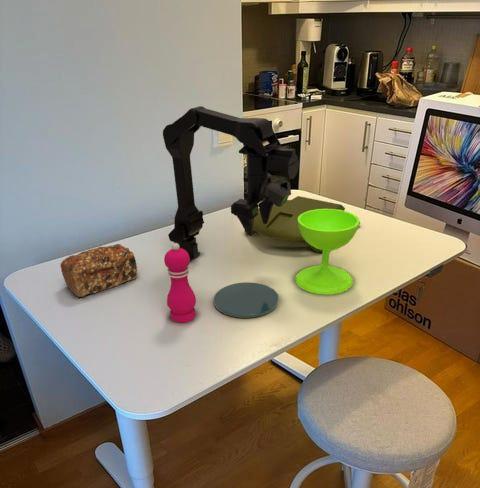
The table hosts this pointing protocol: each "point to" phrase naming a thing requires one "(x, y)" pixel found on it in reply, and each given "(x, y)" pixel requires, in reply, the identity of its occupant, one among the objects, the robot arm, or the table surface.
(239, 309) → the plate
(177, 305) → the pepper mill
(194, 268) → the table surface
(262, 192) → the robot arm
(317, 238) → the wineglass
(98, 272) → the bread
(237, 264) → the table surface
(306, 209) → the spaceship
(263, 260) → the table surface
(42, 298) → the table surface
